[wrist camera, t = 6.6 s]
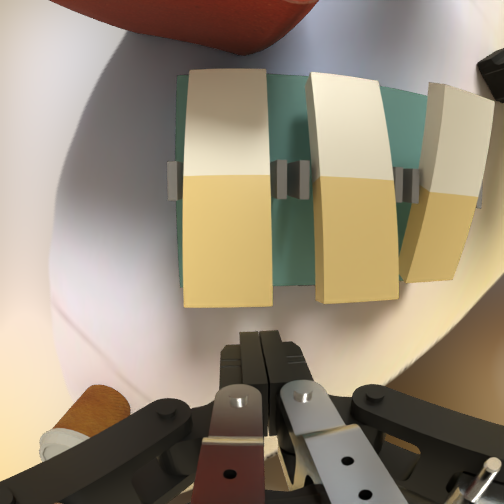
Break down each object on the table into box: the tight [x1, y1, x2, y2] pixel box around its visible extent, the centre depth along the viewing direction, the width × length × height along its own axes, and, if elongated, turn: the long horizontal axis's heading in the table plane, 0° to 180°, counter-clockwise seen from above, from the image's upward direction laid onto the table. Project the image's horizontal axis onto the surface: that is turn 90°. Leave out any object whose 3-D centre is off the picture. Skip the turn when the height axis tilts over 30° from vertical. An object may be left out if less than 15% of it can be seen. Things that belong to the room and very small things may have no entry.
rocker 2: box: [305, 72, 399, 304], centre depth 20 cm, size 15×5×2 cm, turn 0°
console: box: [167, 74, 483, 287], centre depth 24 cm, size 17×24×10 cm
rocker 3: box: [399, 82, 495, 283], centre depth 20 cm, size 15×5×2 cm, turn 0°
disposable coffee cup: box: [39, 385, 130, 462], centre depth 28 cm, size 10×10×12 cm
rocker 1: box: [183, 69, 273, 308], centre depth 19 cm, size 15×5×2 cm, turn 0°
